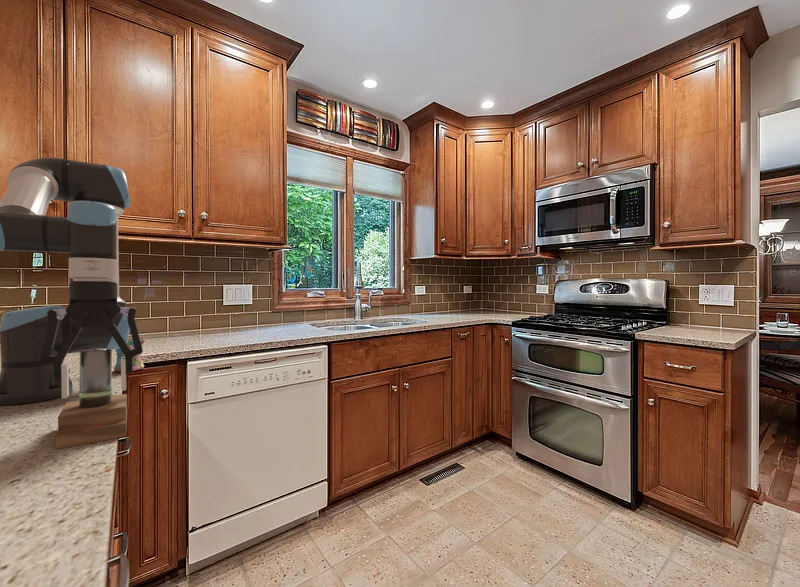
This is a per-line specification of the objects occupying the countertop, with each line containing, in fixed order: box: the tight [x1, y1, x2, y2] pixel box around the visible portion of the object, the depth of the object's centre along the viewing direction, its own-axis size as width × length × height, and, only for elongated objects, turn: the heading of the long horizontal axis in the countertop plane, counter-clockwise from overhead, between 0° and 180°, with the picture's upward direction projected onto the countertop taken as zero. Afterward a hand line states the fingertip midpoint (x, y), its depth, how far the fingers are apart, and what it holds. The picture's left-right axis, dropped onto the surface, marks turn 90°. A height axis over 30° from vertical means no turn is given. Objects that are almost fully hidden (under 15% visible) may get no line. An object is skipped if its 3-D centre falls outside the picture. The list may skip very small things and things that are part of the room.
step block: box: [55, 393, 128, 450], centre depth 75 cm, size 14×10×5 cm
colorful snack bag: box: [113, 337, 146, 373], centre depth 127 cm, size 12×9×11 cm
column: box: [78, 348, 113, 408], centre depth 76 cm, size 5×5×11 cm
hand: (95, 392), depth 76 cm, fingers open, 8 cm apart
